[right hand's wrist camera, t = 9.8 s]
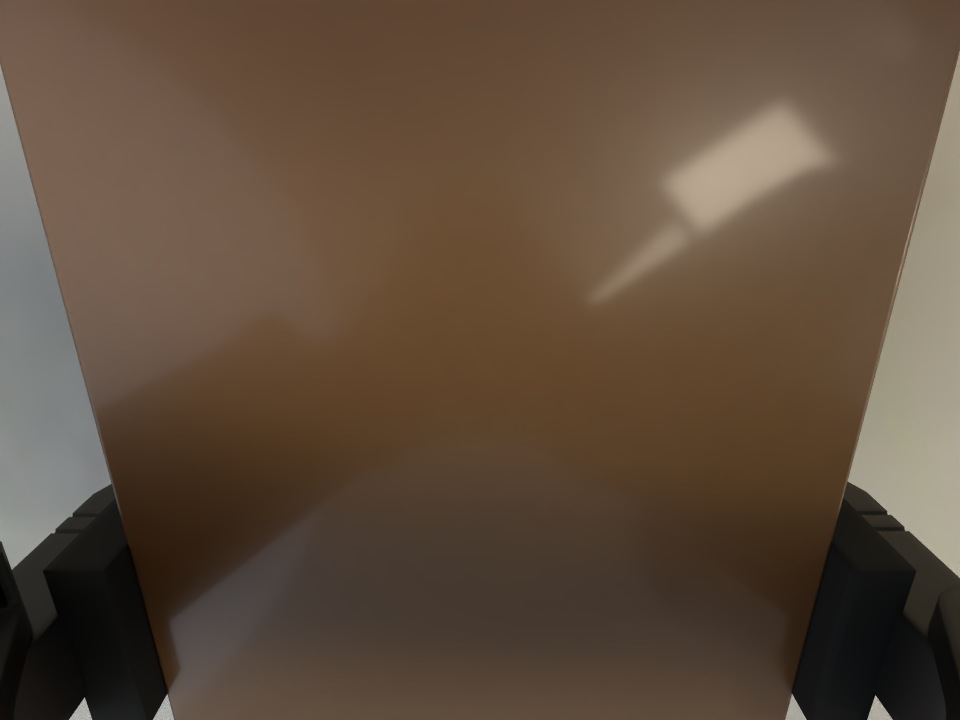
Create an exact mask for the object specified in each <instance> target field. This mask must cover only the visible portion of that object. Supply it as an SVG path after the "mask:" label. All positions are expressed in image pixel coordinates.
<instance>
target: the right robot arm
mask: <svg viewBox="0 0 960 720" xmlns="http://www.w3.org/2000/svg"><path fill="white" fill-rule="evenodd" d="M792 694H793V696H794V698H795V700H796V701H797V703H798V705H799V707H800V708H801V710H802V712H803V714H804V716H805V717H806V719H807V720H867V718H868V715H869V712H870V709H871V706H872V703H873V700H874V697H875V695H876V696H877V698H878V699H879V701H880V702H881V703H882V705H883V706H884V708H885V709H886V710H887V712H888V713H889V715H890V716H891V718H892V719H893V720H960V578H959V577H958V576H957V575H956V574H955V573H954V572H952V571H951V570H950V569H949V568H948V567H947V566H946V565H945V564H944V563H943V562H942V561H941V560H939V559H938V558H937V557H936V556H935V555H934V554H933V553H932V552H931V551H930V550H929V549H928V548H926V547H925V546H924V545H923V544H922V543H921V542H920V541H919V540H918V539H917V538H916V537H915V536H913V535H912V534H911V533H910V532H909V531H905V529H904V526H903V525H902V524H900V523H899V522H898V521H897V520H896V519H895V518H894V517H893V516H892V515H888V514H887V511H886V510H885V509H884V508H883V507H882V506H881V505H880V504H879V503H878V502H877V501H876V500H875V499H873V498H872V497H871V496H870V495H869V494H868V493H867V492H865V491H864V490H862V489H860V488H858V487H856V486H855V485H853V484H851V483H849V482H847V485H846V488H845V492H844V496H843V500H842V504H841V508H840V511H839V515H838V519H837V523H836V527H835V531H834V534H833V538H832V542H831V546H830V550H829V554H828V557H827V561H826V565H825V569H824V573H823V577H822V580H821V584H820V588H819V592H818V596H817V600H816V603H815V607H814V611H813V615H812V619H811V623H810V626H809V630H808V634H807V638H806V642H805V646H804V649H803V653H802V657H801V661H800V665H799V669H798V672H797V676H796V680H795V684H794V688H793V692H792ZM166 695H167V690H166V686H165V682H164V678H163V675H162V671H161V667H160V663H159V660H158V656H157V652H156V648H155V644H154V641H153V637H152V633H151V629H150V626H149V622H148V618H147V614H146V611H145V607H144V603H143V599H142V596H141V592H140V588H139V584H138V580H137V577H136V573H135V569H134V565H133V562H132V558H131V554H130V550H129V547H128V543H127V539H126V535H125V532H124V528H123V524H122V520H121V516H120V513H119V509H118V505H117V501H116V498H115V494H114V490H113V486H112V484H111V485H109V486H107V487H105V488H104V489H102V490H100V491H98V492H96V493H95V494H93V495H92V496H91V497H90V498H89V499H88V500H87V501H86V502H84V503H83V504H82V505H81V506H80V507H79V508H78V509H77V510H76V511H75V512H74V513H73V516H72V517H68V518H67V519H66V520H65V521H64V522H63V523H62V524H61V525H60V526H59V527H58V528H57V529H56V532H55V534H50V535H49V536H48V537H47V538H46V539H45V540H44V541H43V542H42V543H40V544H39V545H38V546H37V547H36V548H35V549H34V550H33V551H32V552H31V553H30V554H29V555H28V556H26V557H25V558H24V559H23V560H22V561H21V562H20V563H19V564H18V565H17V566H16V567H15V568H14V569H13V570H11V567H10V564H9V561H8V559H7V556H6V553H5V550H4V547H3V545H2V542H1V541H0V720H69V719H70V717H71V716H72V714H73V713H74V712H75V710H76V709H77V707H78V706H79V704H80V703H81V702H82V700H83V699H84V697H85V699H86V702H87V705H88V708H89V711H90V714H91V717H92V720H153V718H154V717H155V715H156V713H157V711H158V709H159V708H160V706H161V704H162V702H163V700H164V699H165V697H166Z"/></svg>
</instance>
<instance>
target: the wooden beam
mask: <svg viewBox="0 0 960 720" xmlns="http://www.w3.org/2000/svg"><path fill="white" fill-rule="evenodd" d="M959 51H960V0H0V65H1V68H2V72H3V76H4V80H5V83H6V87H7V91H8V95H9V99H10V102H11V106H12V110H13V114H14V117H15V121H16V125H17V129H18V132H19V136H20V140H21V144H22V147H23V151H24V155H25V159H26V163H27V166H28V170H29V174H30V178H31V181H32V185H33V189H34V193H35V196H36V200H37V204H38V208H39V211H40V215H41V219H42V223H43V227H44V230H45V234H46V238H47V242H48V245H49V249H50V253H51V257H52V260H53V264H54V268H55V272H56V275H57V279H58V283H59V287H60V291H61V294H62V298H63V302H64V306H65V309H66V313H67V317H68V321H69V324H70V328H71V332H72V336H73V339H74V343H75V347H76V351H77V355H78V358H79V362H80V366H81V370H82V373H83V377H84V381H85V385H86V388H87V392H88V396H89V400H90V403H91V407H92V411H93V415H94V419H95V422H96V426H97V430H98V434H99V437H100V441H101V445H102V449H103V452H104V456H105V460H106V464H107V468H108V471H109V475H110V479H111V483H112V486H113V490H114V494H115V498H116V501H117V505H118V509H119V513H120V516H121V520H122V524H123V528H124V532H125V535H126V539H127V543H128V547H129V550H130V554H131V558H132V562H133V565H134V569H135V573H136V577H137V580H138V584H139V588H140V592H141V596H142V599H143V603H144V607H145V611H146V614H147V618H148V622H149V626H150V629H151V633H152V637H153V641H154V644H155V648H156V652H157V656H158V660H159V663H160V667H161V671H162V675H163V678H164V682H165V686H166V690H167V693H168V697H169V701H170V705H171V708H172V712H173V716H174V720H785V718H786V715H787V711H788V707H789V703H790V699H791V695H792V692H793V688H794V684H795V680H796V676H797V672H798V669H799V665H800V661H801V657H802V653H803V649H804V646H805V642H806V638H807V634H808V630H809V626H810V623H811V619H812V615H813V611H814V607H815V603H816V600H817V596H818V592H819V588H820V584H821V580H822V577H823V573H824V569H825V565H826V561H827V557H828V554H829V550H830V546H831V542H832V538H833V534H834V531H835V527H836V523H837V519H838V515H839V511H840V508H841V504H842V500H843V496H844V492H845V488H846V485H847V481H848V477H849V473H850V469H851V465H852V462H853V458H854V454H855V450H856V446H857V442H858V439H859V435H860V431H861V427H862V423H863V419H864V416H865V412H866V408H867V404H868V400H869V396H870V393H871V389H872V385H873V381H874V377H875V373H876V370H877V366H878V362H879V358H880V354H881V350H882V347H883V343H884V339H885V335H886V331H887V327H888V324H889V320H890V316H891V312H892V308H893V304H894V301H895V297H896V293H897V289H898V285H899V281H900V278H901V274H902V270H903V266H904V262H905V258H906V255H907V251H908V247H909V243H910V239H911V235H912V232H913V228H914V224H915V220H916V216H917V212H918V209H919V205H920V201H921V197H922V193H923V189H924V186H925V182H926V178H927V174H928V170H929V166H930V163H931V159H932V155H933V151H934V147H935V143H936V140H937V136H938V132H939V128H940V124H941V120H942V117H943V113H944V109H945V105H946V101H947V97H948V94H949V90H950V86H951V82H952V78H953V74H954V71H955V67H956V63H957V59H958V55H959Z"/></svg>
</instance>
